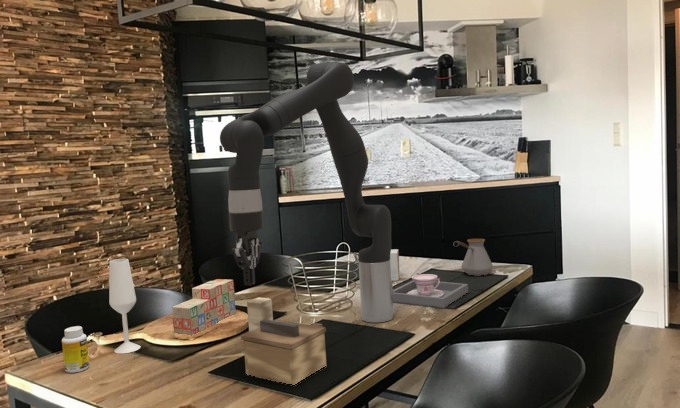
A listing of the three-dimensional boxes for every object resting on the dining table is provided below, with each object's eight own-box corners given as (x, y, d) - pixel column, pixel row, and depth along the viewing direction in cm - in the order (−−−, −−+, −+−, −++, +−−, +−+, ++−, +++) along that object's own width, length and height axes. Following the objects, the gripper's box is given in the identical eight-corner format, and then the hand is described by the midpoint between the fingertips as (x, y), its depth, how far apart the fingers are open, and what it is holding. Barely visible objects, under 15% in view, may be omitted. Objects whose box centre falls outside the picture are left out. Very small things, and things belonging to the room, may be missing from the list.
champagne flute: (145, 347, 155) (137, 259, 153) (122, 355, 150) (113, 264, 148) (132, 342, 160) (124, 257, 157) (109, 350, 154) (100, 261, 152)
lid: (281, 321, 143) (280, 308, 143) (330, 329, 135) (329, 315, 134) (241, 339, 131) (240, 325, 131) (291, 349, 123) (290, 333, 123)
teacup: (408, 301, 183) (407, 281, 183) (405, 291, 195) (404, 273, 195) (446, 299, 183) (446, 279, 183) (440, 289, 195) (440, 271, 195)
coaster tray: (415, 287, 202) (414, 279, 201) (468, 293, 191) (467, 284, 190) (387, 302, 186) (387, 292, 185) (444, 308, 175) (443, 298, 174)
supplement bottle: (84, 372, 139) (80, 331, 138) (61, 374, 139) (56, 333, 138) (93, 364, 145) (89, 324, 144) (70, 365, 145) (66, 325, 144)
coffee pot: (470, 269, 225) (469, 231, 224) (498, 272, 218) (497, 232, 216) (442, 281, 209) (441, 240, 207) (471, 284, 201) (470, 242, 200)
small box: (398, 281, 213) (397, 252, 212) (383, 281, 214) (382, 253, 213) (400, 276, 221) (398, 248, 220) (385, 276, 222) (384, 249, 221)
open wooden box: (279, 357, 142) (277, 325, 141) (326, 366, 134) (324, 333, 133) (246, 374, 132) (243, 340, 131) (294, 386, 124) (291, 349, 123)
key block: (261, 341, 155) (258, 297, 154) (274, 343, 152) (271, 298, 151) (250, 346, 151) (246, 301, 150) (263, 349, 149) (259, 303, 147)
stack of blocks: (192, 341, 158) (188, 297, 157) (174, 339, 161) (170, 296, 160) (236, 318, 178) (233, 279, 177) (219, 317, 180) (216, 278, 179)
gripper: (250, 212, 125) (254, 291, 126) (271, 206, 137) (274, 278, 139) (217, 212, 126) (222, 291, 128) (241, 207, 139) (245, 278, 141)
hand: (249, 284), depth 133 cm, fingers closed
